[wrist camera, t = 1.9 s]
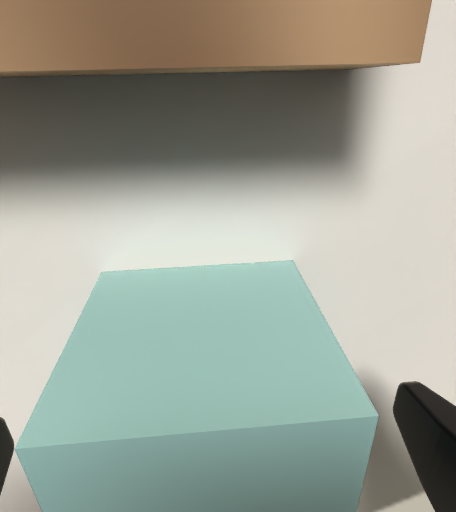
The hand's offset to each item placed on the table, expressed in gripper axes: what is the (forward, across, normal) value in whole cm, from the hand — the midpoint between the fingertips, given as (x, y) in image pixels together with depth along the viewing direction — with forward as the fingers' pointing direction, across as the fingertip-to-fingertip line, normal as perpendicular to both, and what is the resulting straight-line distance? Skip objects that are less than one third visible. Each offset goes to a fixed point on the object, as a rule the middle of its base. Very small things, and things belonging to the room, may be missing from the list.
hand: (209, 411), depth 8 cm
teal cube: (+3, 0, 0) cm, 3 cm away
